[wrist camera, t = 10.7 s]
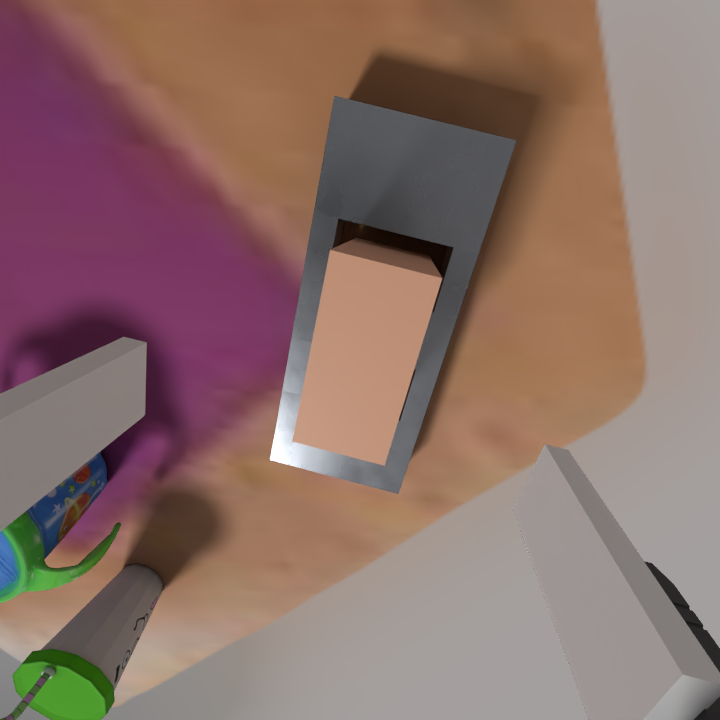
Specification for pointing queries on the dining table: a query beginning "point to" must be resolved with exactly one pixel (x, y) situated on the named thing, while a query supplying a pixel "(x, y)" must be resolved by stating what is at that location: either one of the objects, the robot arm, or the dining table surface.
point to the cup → (89, 651)
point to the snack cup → (51, 534)
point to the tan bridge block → (365, 347)
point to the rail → (403, 216)
